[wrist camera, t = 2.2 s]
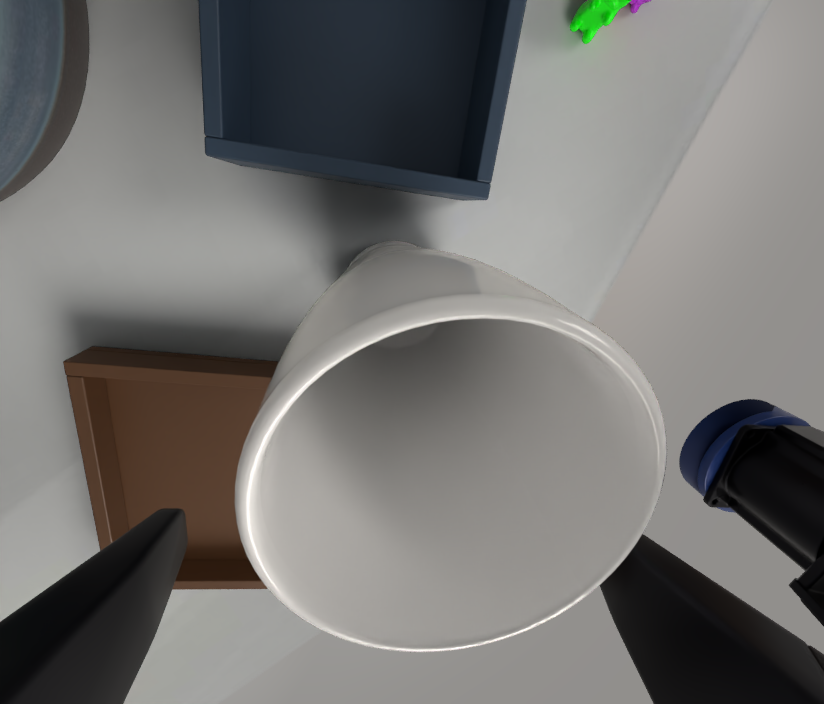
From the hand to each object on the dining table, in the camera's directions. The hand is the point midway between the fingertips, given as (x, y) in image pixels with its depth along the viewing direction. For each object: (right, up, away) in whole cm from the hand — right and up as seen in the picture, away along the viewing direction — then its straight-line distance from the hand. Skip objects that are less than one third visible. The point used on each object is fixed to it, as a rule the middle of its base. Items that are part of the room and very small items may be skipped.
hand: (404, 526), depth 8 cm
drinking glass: (-1, +7, +11) cm, 13 cm away
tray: (-10, -3, +14) cm, 18 cm away
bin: (-2, +16, +7) cm, 18 cm away
